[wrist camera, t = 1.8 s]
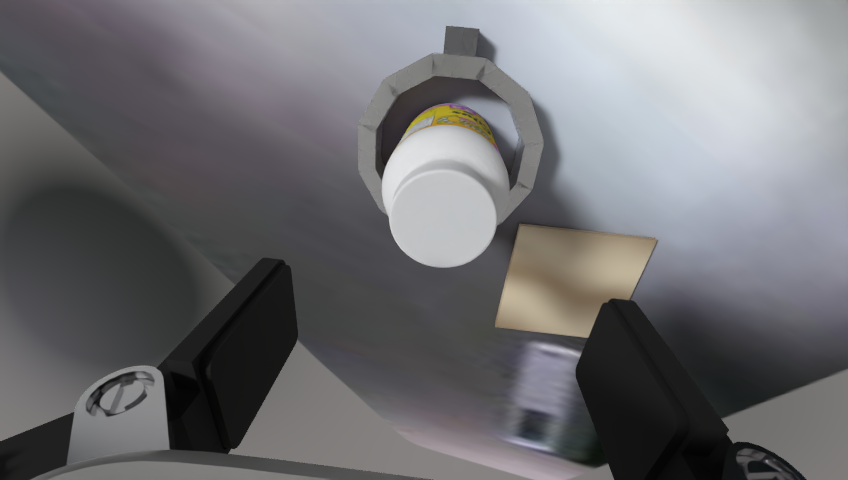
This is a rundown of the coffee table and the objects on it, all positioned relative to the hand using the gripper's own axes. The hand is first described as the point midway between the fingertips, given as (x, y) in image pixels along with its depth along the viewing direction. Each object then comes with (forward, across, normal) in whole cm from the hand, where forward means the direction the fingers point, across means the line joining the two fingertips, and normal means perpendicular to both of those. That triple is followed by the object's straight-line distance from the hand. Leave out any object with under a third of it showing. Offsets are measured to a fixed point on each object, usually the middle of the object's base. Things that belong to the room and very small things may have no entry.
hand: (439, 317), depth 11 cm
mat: (+18, -12, +10) cm, 24 cm away
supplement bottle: (+18, 0, -1) cm, 18 cm away
